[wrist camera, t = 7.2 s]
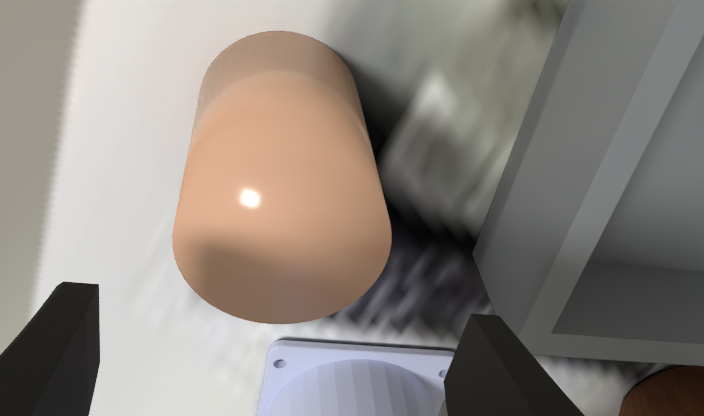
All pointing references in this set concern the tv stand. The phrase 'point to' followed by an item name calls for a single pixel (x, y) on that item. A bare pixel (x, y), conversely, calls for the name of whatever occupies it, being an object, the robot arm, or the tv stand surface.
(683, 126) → the tote
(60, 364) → the robot arm
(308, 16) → the tv stand surface
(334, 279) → the terracotta cylinder
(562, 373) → the tv stand surface
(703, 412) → the wooden figurine
